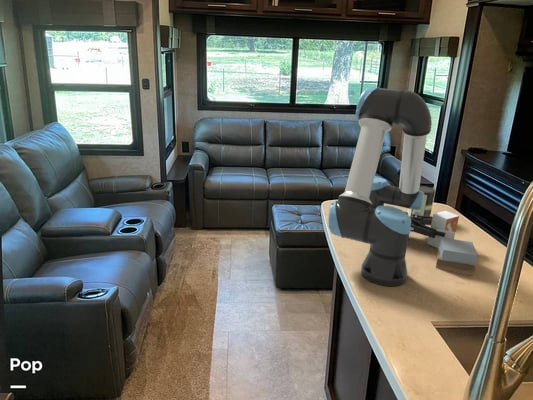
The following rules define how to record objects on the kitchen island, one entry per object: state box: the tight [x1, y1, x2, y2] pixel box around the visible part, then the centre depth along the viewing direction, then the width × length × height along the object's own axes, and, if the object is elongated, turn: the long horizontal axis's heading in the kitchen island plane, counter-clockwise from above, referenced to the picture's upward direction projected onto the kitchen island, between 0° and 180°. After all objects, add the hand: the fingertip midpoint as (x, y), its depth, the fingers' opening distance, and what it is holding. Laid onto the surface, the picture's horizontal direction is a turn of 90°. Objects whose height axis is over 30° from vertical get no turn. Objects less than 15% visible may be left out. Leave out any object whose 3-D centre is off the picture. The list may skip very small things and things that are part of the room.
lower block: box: [435, 248, 476, 277], centre depth 153 cm, size 12×12×4 cm
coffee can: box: [407, 185, 436, 217], centre depth 192 cm, size 10×10×14 cm
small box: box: [426, 210, 460, 249], centre depth 166 cm, size 8×6×13 cm
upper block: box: [439, 237, 479, 267], centre depth 151 cm, size 11×11×4 cm
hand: (454, 231), depth 164 cm, fingers closed on small box, 10 cm apart
